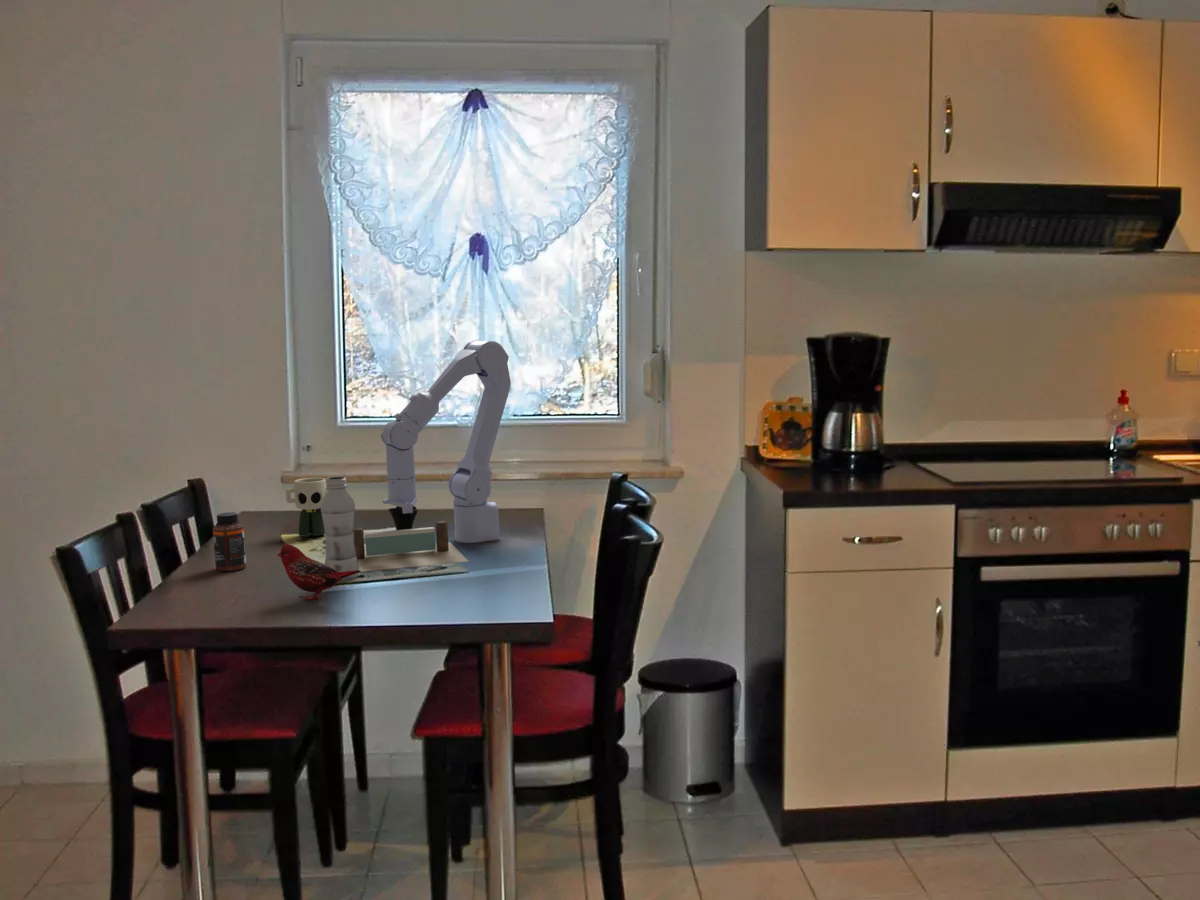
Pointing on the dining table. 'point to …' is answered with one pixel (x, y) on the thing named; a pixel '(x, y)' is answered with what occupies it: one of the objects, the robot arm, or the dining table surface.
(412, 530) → the gate
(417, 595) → the dining table surface
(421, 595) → the dining table surface
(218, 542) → the supplement bottle
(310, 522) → the character mug
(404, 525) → the robot arm
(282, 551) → the decorative bird figurine
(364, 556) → the gate frame
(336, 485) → the plastic bottle
